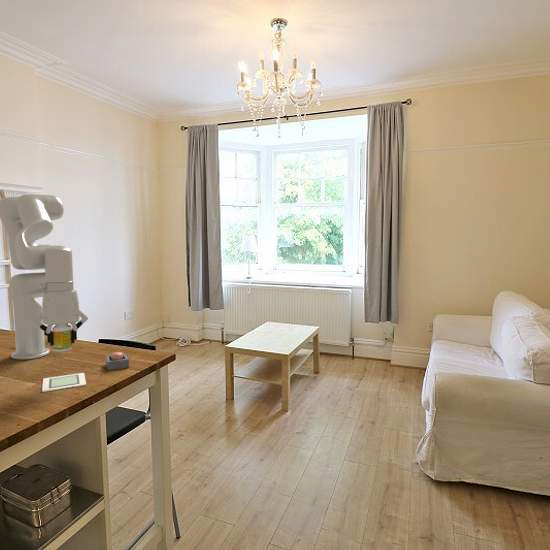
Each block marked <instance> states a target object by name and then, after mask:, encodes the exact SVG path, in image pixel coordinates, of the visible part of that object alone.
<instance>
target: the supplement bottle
mask: <svg viewBox="0 0 550 550" xmlns="http://www.w3.org/2000/svg"><path fill="white" fill-rule="evenodd" d="M51 330H52V335H53V345H52V350H53V351H54V352H66V351H70V350H72V349H73V343H72V325H71V324H69V323H67V324H56V325H53V326H52V329H51Z"/></svg>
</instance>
